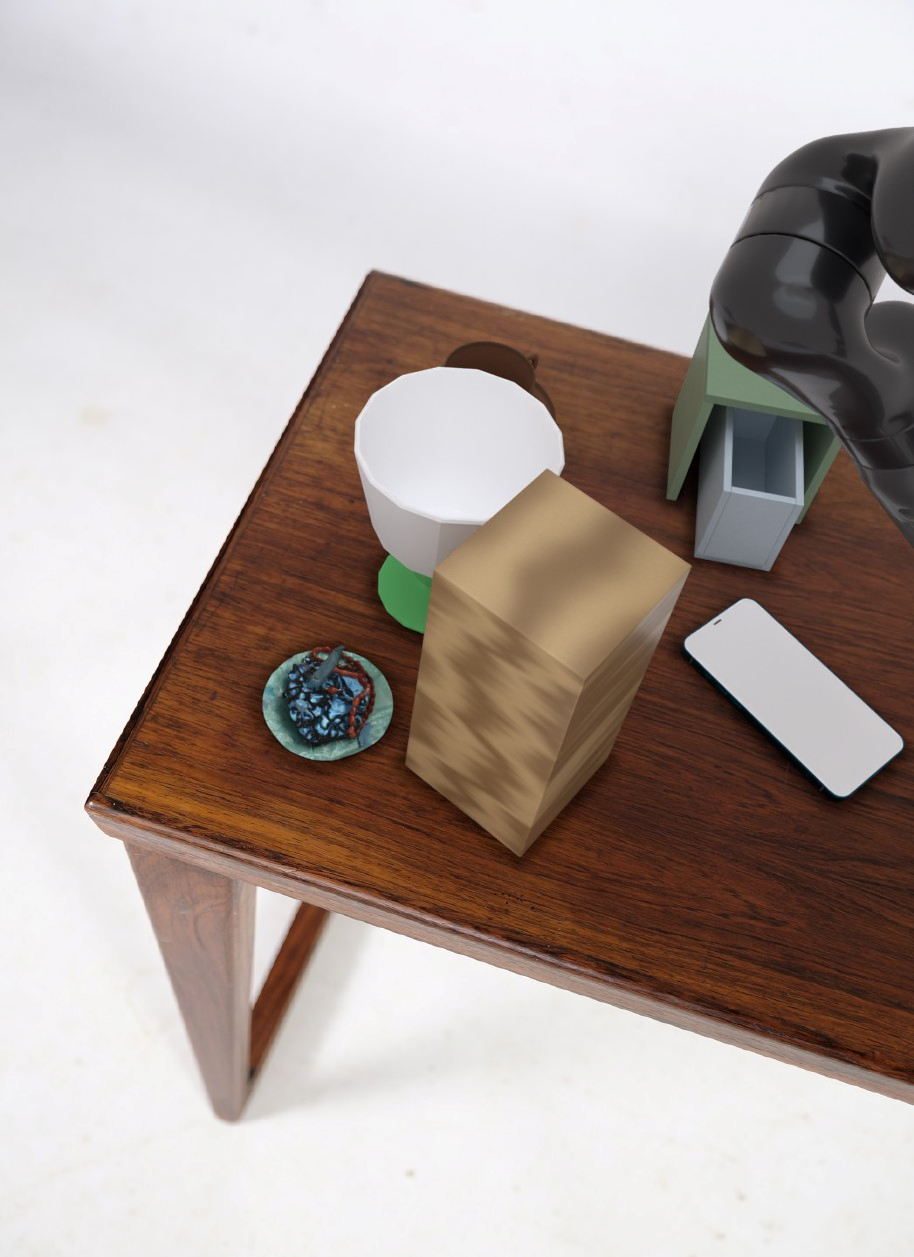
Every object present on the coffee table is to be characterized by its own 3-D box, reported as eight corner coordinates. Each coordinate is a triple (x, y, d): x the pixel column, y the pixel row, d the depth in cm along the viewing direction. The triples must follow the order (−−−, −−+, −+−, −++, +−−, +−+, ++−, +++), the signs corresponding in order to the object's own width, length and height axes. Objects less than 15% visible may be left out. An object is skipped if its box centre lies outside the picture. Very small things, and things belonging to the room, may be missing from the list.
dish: (239, 662, 81) (333, 633, 78) (295, 655, 87) (384, 628, 84) (268, 777, 80) (363, 753, 77) (322, 761, 87) (412, 738, 84)
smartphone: (905, 749, 86) (744, 599, 92) (911, 743, 85) (748, 592, 91) (835, 810, 82) (673, 650, 88) (840, 804, 81) (676, 643, 87)
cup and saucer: (445, 358, 103) (452, 302, 98) (573, 409, 101) (587, 355, 96) (383, 446, 97) (387, 391, 92) (518, 503, 95) (530, 450, 90)
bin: (769, 571, 94) (804, 505, 87) (693, 557, 94) (723, 490, 87) (769, 443, 102) (802, 374, 95) (700, 430, 102) (728, 360, 95)
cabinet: (799, 524, 97) (854, 422, 87) (666, 499, 97) (706, 394, 87) (798, 436, 103) (850, 331, 93) (672, 412, 103) (710, 304, 93)
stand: (607, 758, 83) (692, 565, 65) (520, 858, 78) (585, 679, 60) (495, 673, 86) (547, 467, 68) (404, 765, 81) (433, 568, 63)
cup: (539, 535, 93) (577, 388, 80) (513, 681, 85) (551, 543, 72) (368, 500, 93) (378, 347, 80) (326, 642, 86) (330, 498, 73)
